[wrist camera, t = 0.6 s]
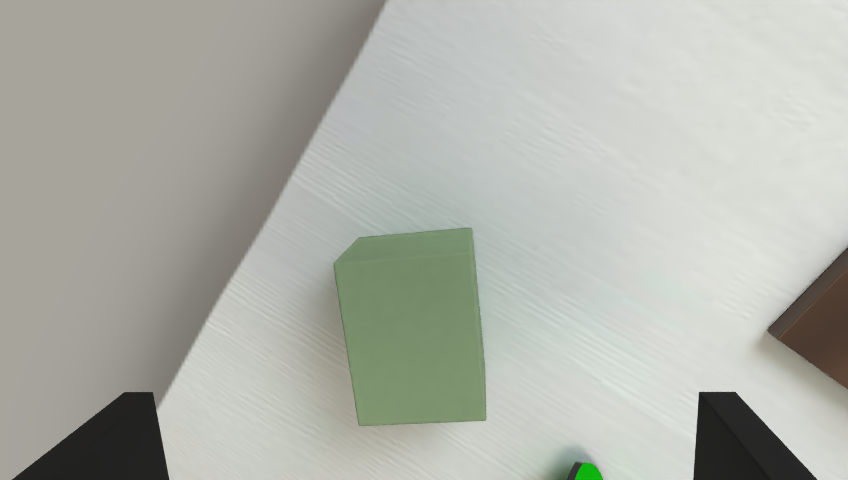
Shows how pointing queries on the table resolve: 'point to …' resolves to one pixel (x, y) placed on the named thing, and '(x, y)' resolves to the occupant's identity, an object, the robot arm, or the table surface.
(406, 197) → the table surface
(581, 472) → the stick construction toy
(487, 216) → the table surface
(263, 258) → the table surface
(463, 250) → the green rectangular block
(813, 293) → the back board
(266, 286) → the table surface
